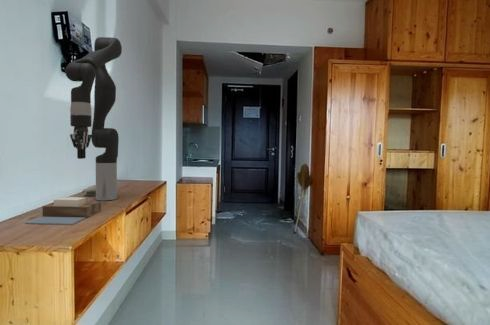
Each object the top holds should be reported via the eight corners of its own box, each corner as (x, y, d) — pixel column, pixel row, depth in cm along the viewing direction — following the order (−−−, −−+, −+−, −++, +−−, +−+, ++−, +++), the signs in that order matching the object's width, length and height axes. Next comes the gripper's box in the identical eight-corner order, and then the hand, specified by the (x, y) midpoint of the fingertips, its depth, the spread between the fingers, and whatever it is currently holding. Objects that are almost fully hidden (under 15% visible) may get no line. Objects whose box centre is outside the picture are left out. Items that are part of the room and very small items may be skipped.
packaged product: (112, 192, 186) (93, 193, 184) (112, 183, 186) (92, 184, 184) (104, 197, 168) (82, 199, 167) (103, 188, 168) (81, 189, 166)
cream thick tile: (62, 203, 132) (62, 197, 132) (85, 203, 132) (85, 197, 132) (53, 206, 126) (53, 199, 126) (78, 206, 126) (78, 200, 126)
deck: (60, 210, 137) (60, 200, 137) (100, 211, 137) (100, 201, 137) (42, 217, 125) (42, 206, 125) (86, 218, 125) (86, 207, 125)
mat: (41, 217, 125) (41, 216, 125) (85, 218, 125) (85, 217, 125) (24, 223, 115) (24, 222, 115) (72, 224, 115) (72, 223, 115)
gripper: (79, 115, 143) (80, 157, 144) (62, 112, 129) (62, 159, 130) (97, 116, 143) (98, 157, 144) (82, 113, 129) (82, 159, 130)
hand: (81, 158), depth 137 cm, fingers closed
